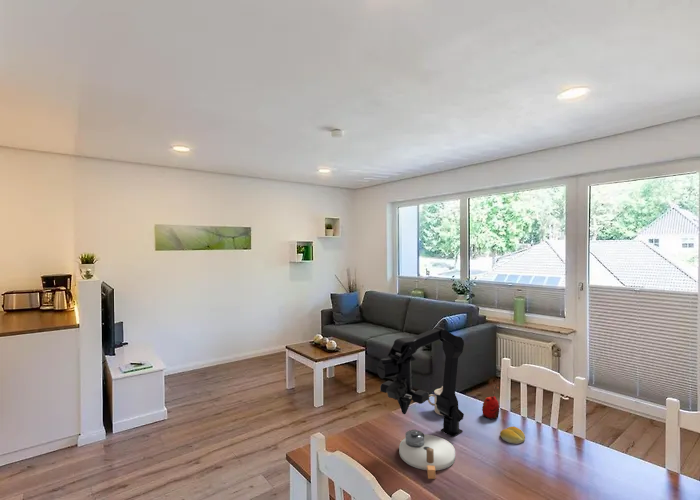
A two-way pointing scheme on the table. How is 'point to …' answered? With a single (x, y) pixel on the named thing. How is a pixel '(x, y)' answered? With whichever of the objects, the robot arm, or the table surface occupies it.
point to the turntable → (428, 453)
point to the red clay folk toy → (491, 407)
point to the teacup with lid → (436, 392)
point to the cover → (414, 438)
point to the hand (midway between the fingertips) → (404, 413)
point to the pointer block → (431, 472)
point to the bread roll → (512, 435)
